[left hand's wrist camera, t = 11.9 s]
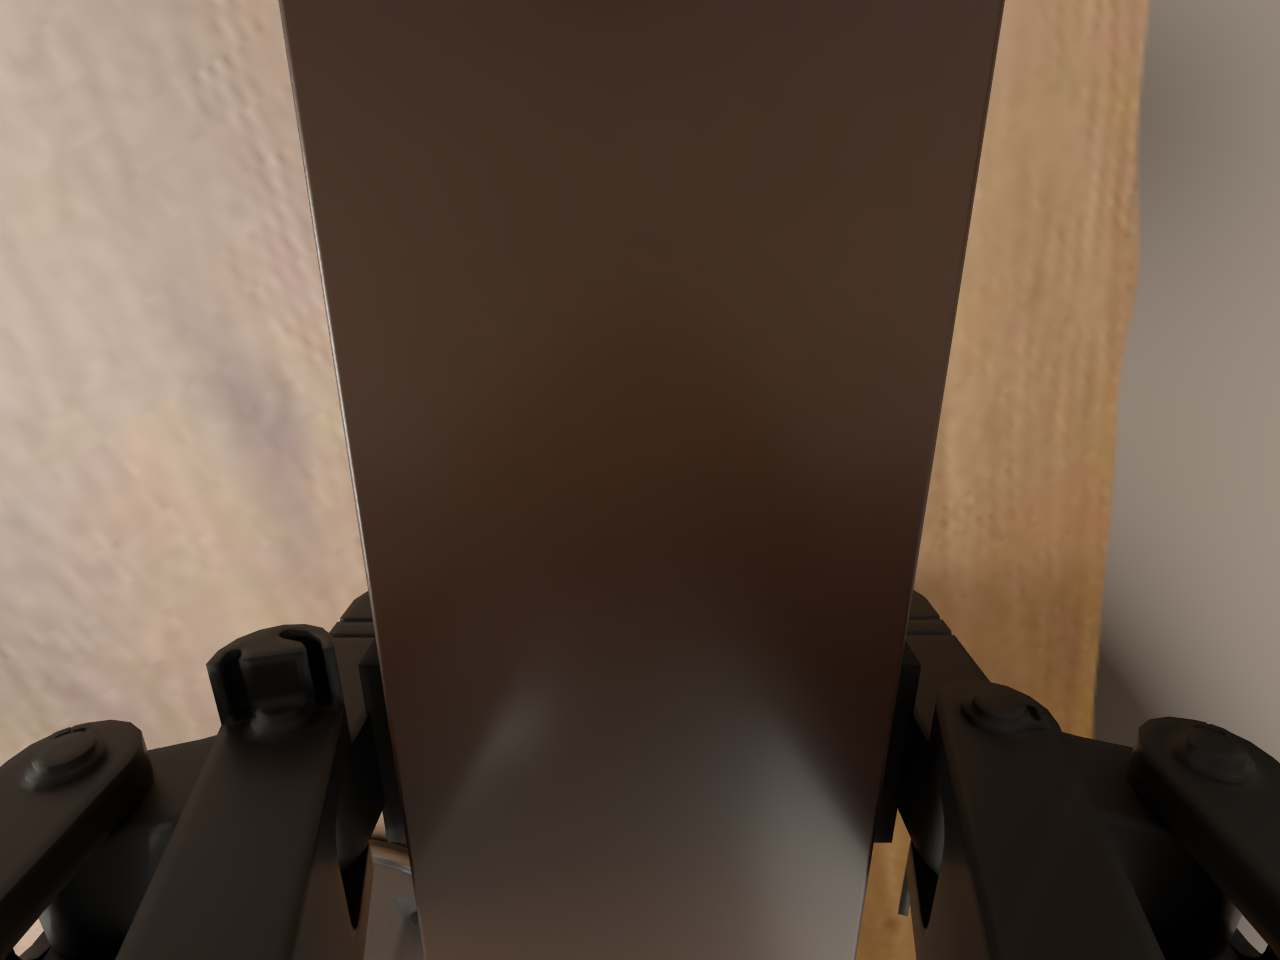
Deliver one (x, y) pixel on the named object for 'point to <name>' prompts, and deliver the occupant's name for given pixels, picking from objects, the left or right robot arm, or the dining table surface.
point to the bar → (640, 439)
